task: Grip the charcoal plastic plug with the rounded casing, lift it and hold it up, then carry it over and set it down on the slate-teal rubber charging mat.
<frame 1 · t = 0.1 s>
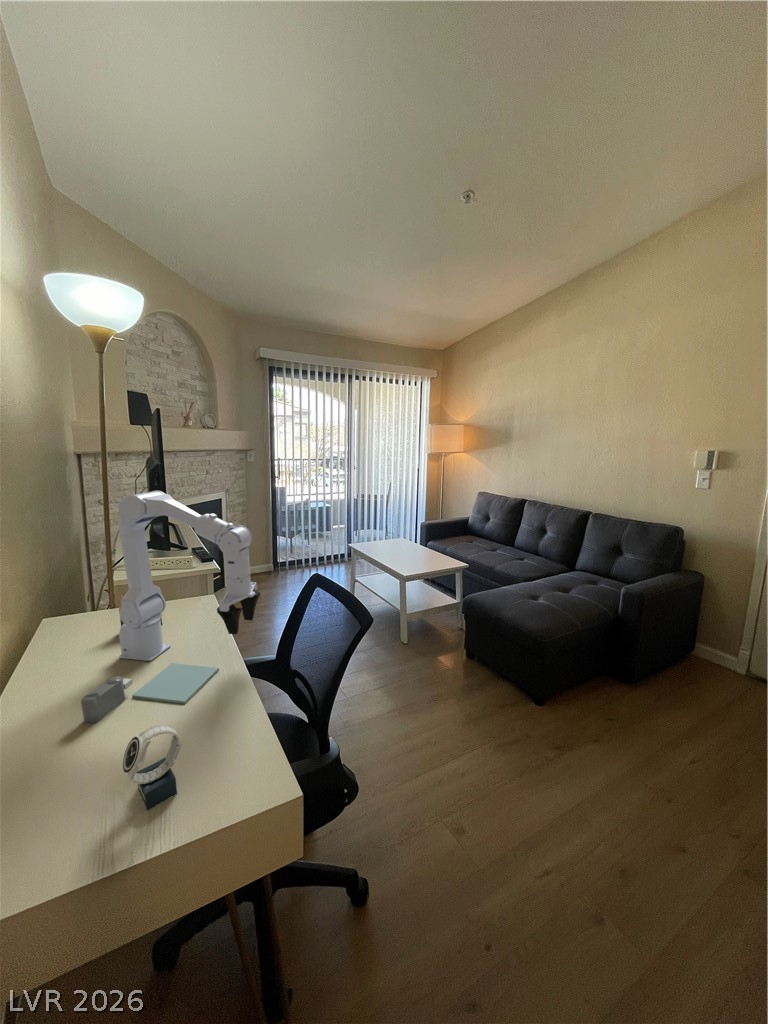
hand: (241, 626, 100), 10 cm above the table, tool pointing down, fingers open, 7 cm apart
ammunition clip: (142, 629, 120), on the table
plug: (105, 709, 83), on the table
watch: (157, 792, 64), on the table
charging mat: (178, 683, 93), on the table
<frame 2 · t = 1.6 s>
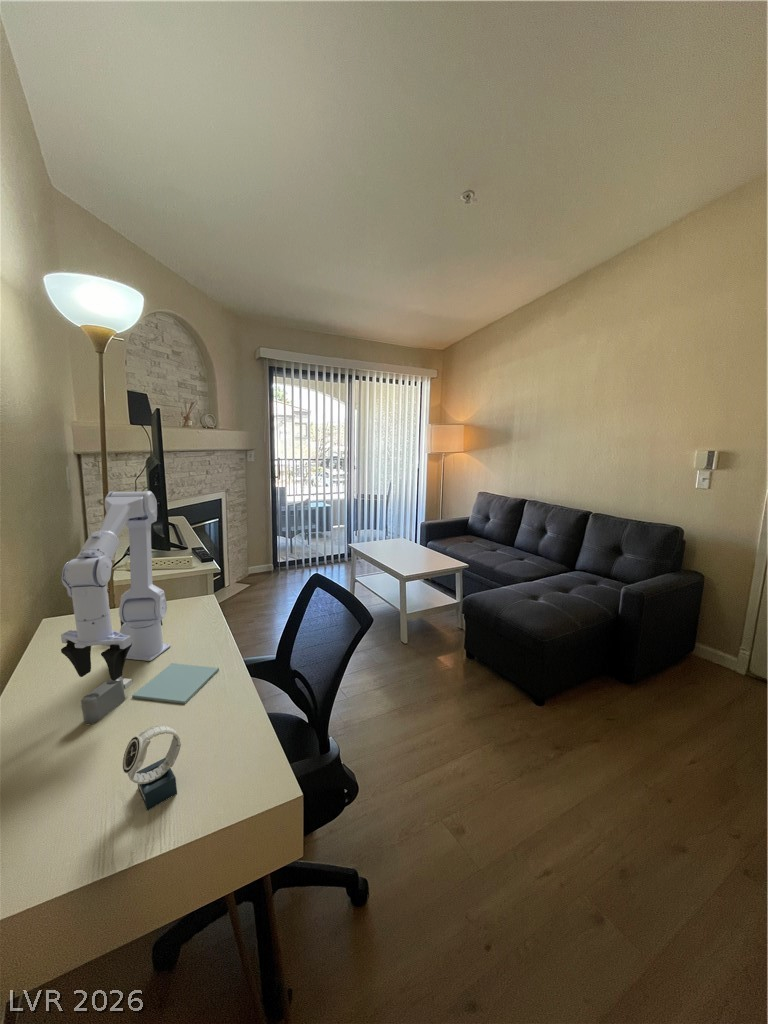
hand: (100, 675, 82), 8 cm above the table, tool pointing down, fingers open, 7 cm apart
nothing on the table moved.
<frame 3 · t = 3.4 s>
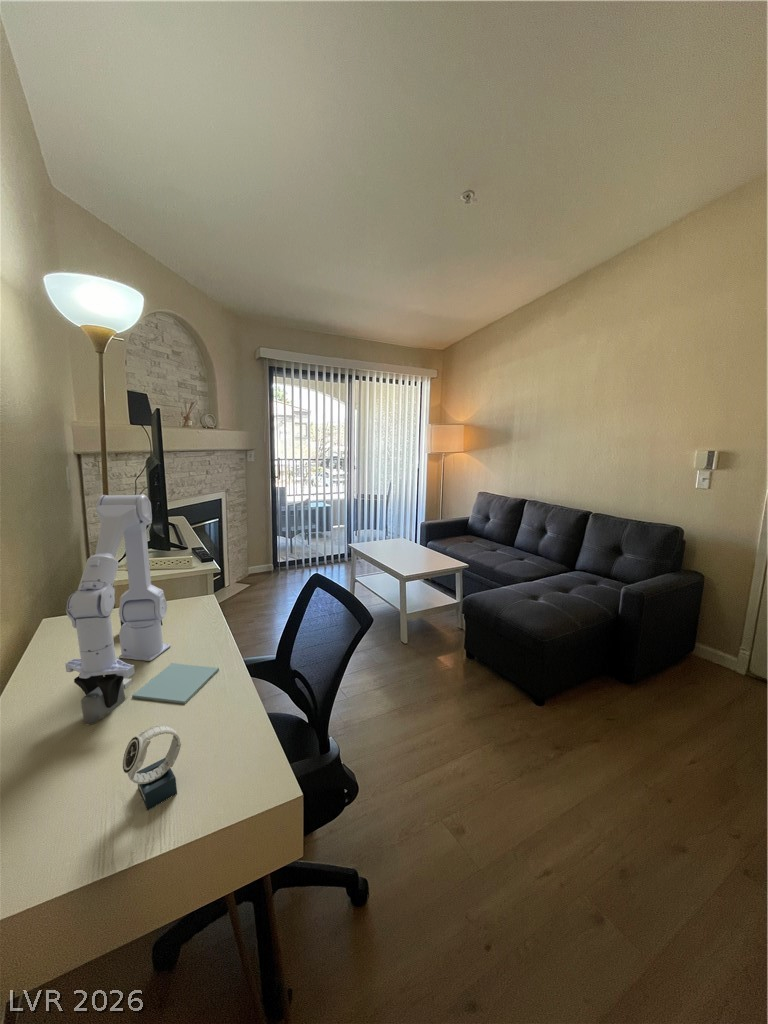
hand: (104, 703, 83), 1 cm above the table, tool pointing down, fingers closed on plug, 3 cm apart
plug: (105, 709, 83), on the table, touching gripper
everything else where it was.
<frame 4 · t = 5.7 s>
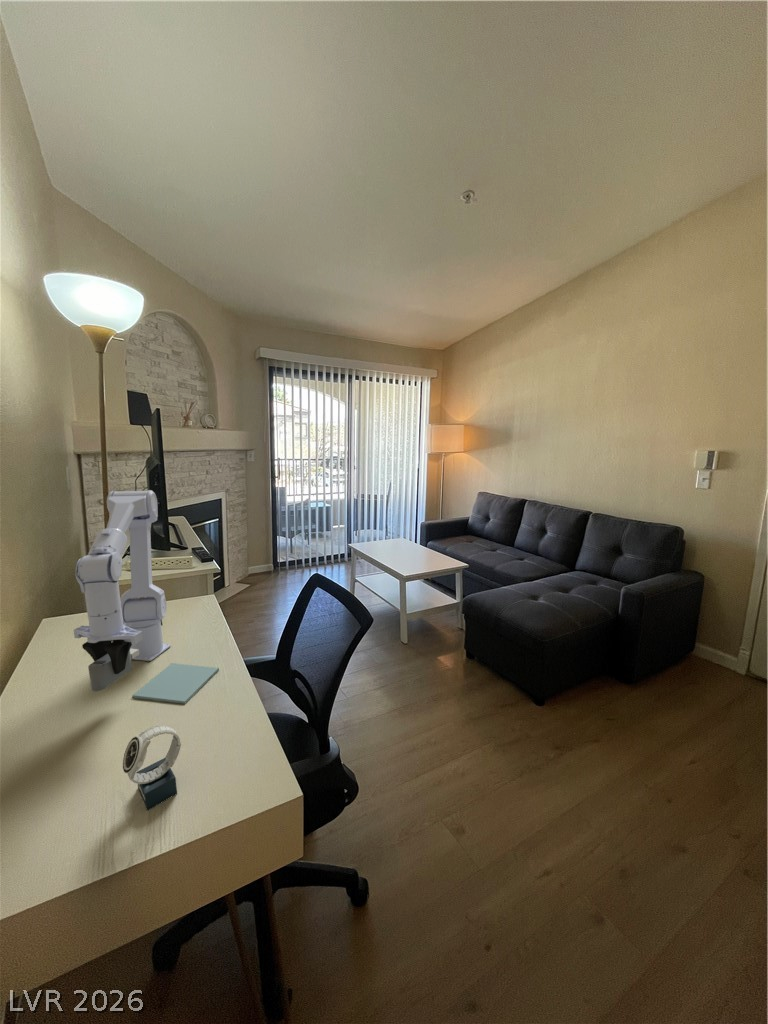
hand: (112, 670, 83), 8 cm above the table, tool pointing down, fingers closed on plug, 3 cm apart
plug: (112, 678, 83), point 7 cm above the table, touching gripper
everything else where it was.
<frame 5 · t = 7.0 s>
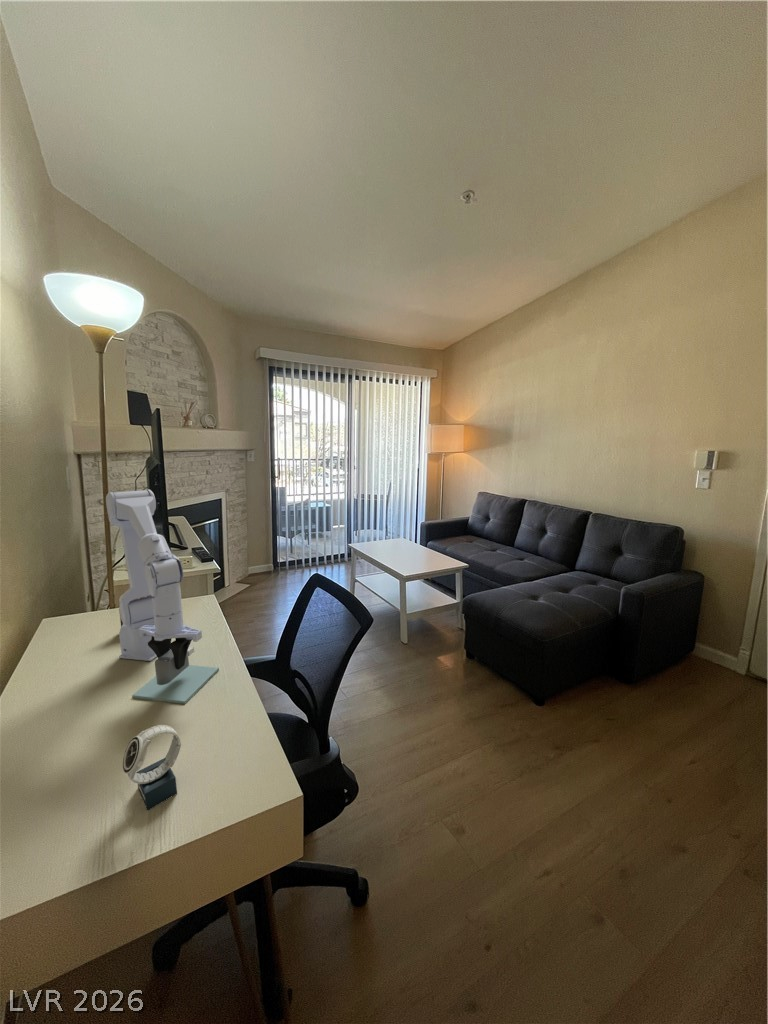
hand: (173, 666, 91), 5 cm above the table, tool pointing down, fingers closed on plug, 3 cm apart
plug: (173, 673, 91), point 3 cm above the table, touching gripper
everything else where it was.
when the fingers open (3 cm above the table, at t = 8.0 s): plug drops 1 cm, resting on charging mat.
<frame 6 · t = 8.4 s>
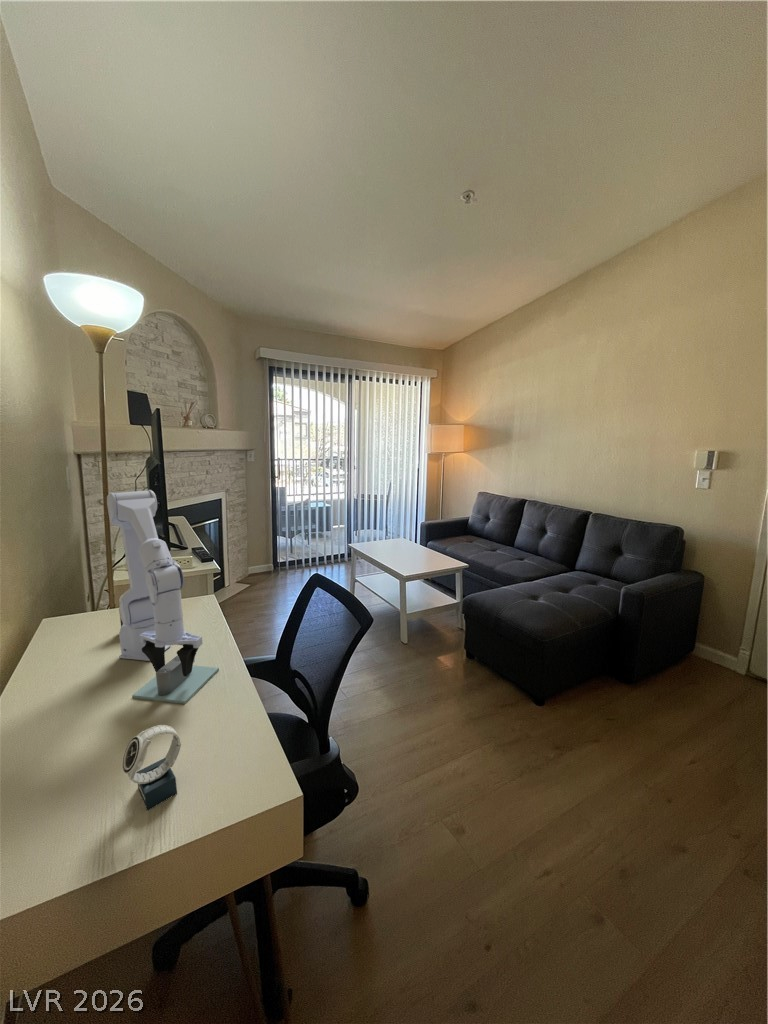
hand: (174, 672, 91), 3 cm above the table, tool pointing down, fingers open, 6 cm apart
plug: (174, 683, 92), point 1 cm above the table, touching charging mat
everything else where it was.
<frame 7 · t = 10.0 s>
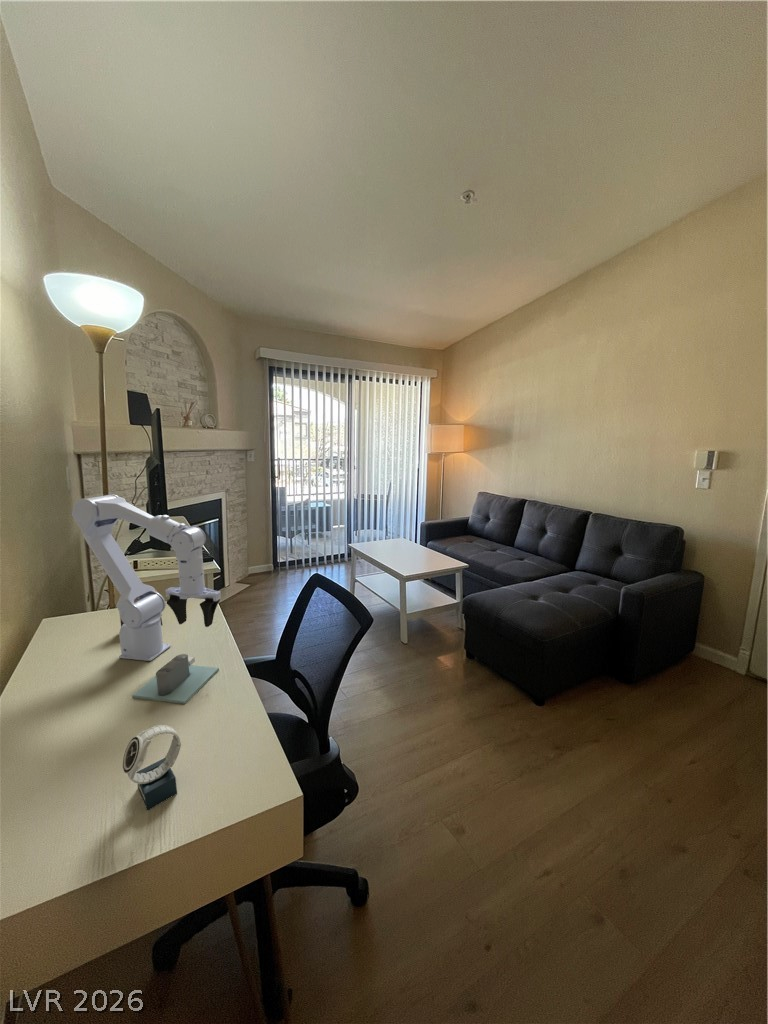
hand: (195, 623, 102), 9 cm above the table, tool pointing down, fingers open, 7 cm apart
nothing on the table moved.
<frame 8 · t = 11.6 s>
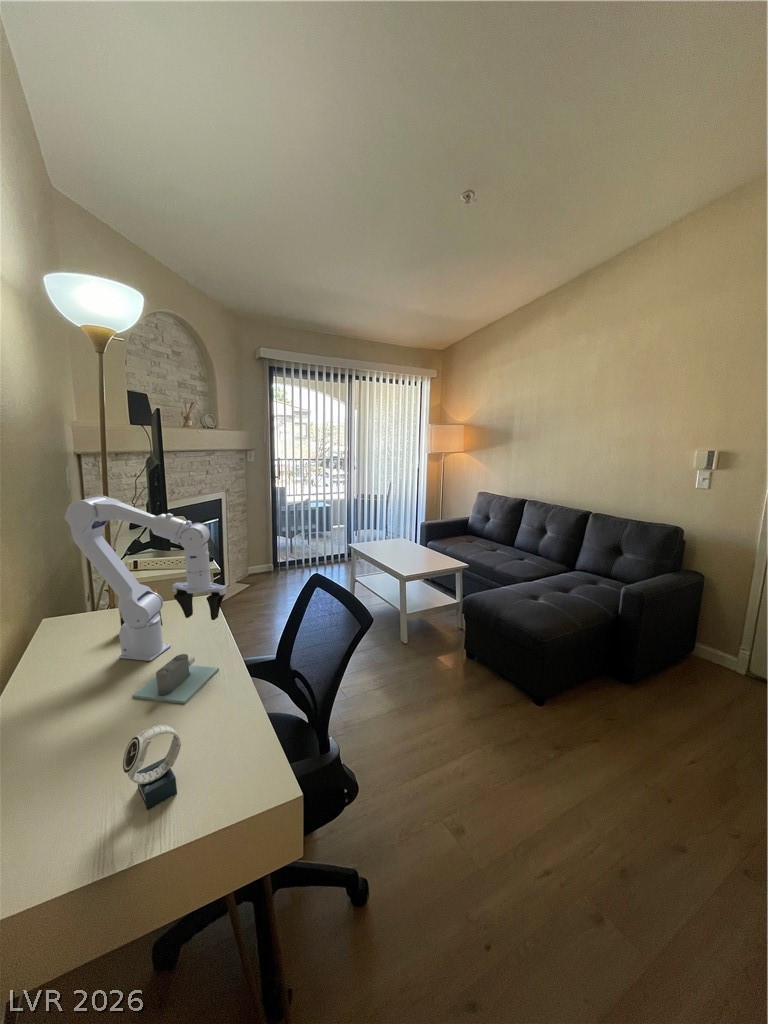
hand: (201, 617, 106), 9 cm above the table, tool pointing down, fingers open, 7 cm apart
nothing on the table moved.
at the end: plug inside the target area on the charging mat (0.7 cm from its centre), point 0.6 cm above the charging mat's base; plug tilted 0°; the gripper is holding nothing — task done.
